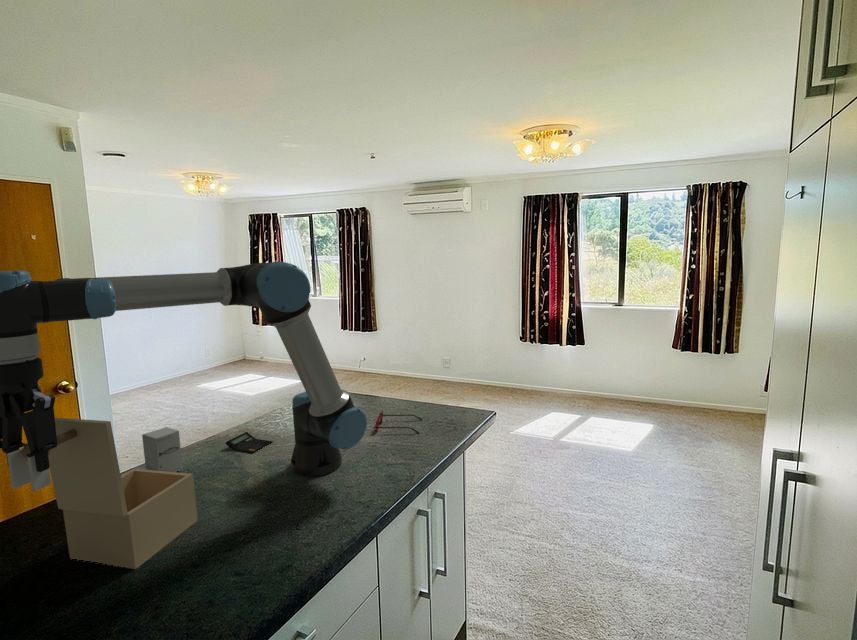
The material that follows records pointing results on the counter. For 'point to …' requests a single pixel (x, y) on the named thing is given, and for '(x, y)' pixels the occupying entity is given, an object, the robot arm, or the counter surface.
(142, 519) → the carton
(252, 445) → the calculator
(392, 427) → the glasses
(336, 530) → the counter surface
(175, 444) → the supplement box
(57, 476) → the flap
